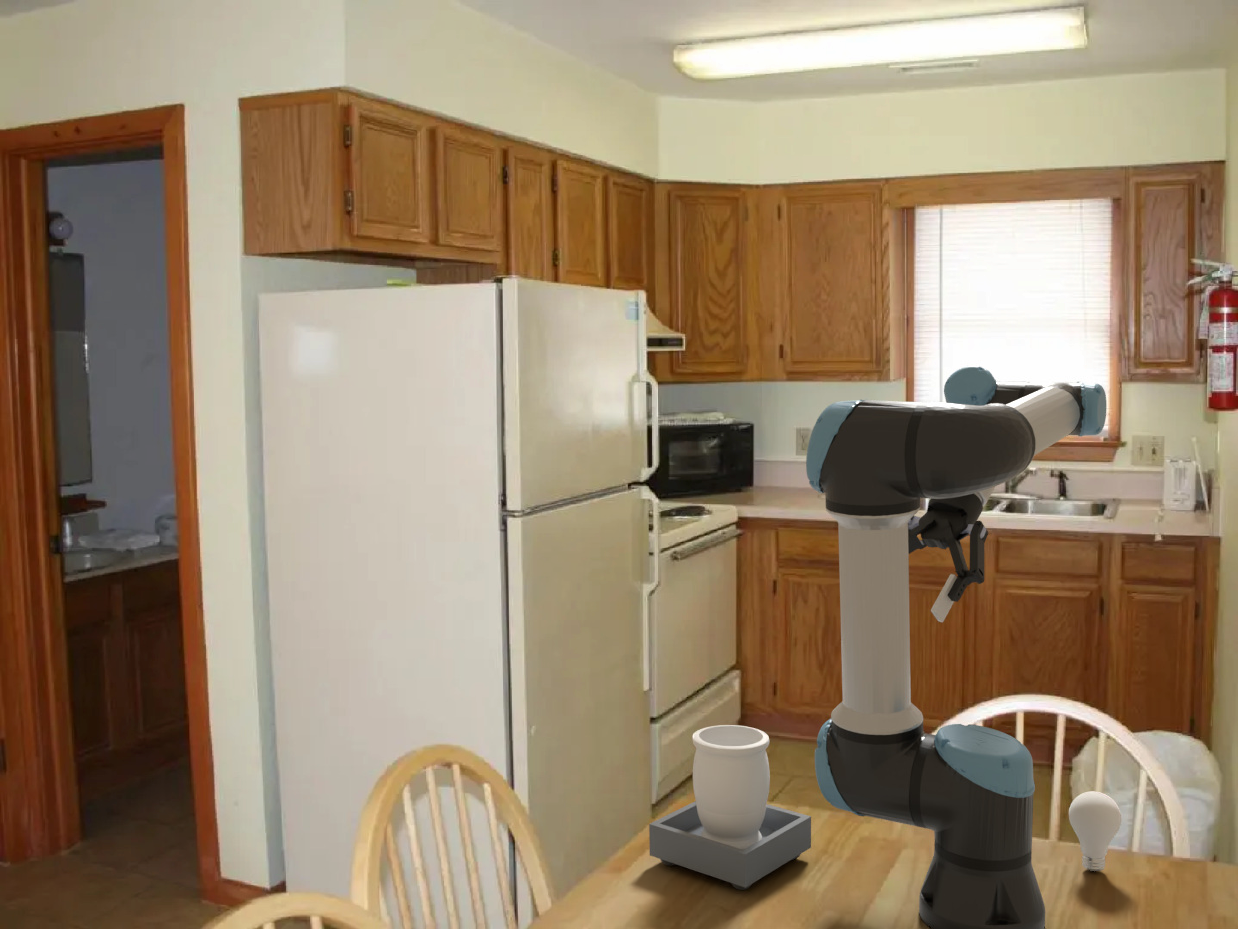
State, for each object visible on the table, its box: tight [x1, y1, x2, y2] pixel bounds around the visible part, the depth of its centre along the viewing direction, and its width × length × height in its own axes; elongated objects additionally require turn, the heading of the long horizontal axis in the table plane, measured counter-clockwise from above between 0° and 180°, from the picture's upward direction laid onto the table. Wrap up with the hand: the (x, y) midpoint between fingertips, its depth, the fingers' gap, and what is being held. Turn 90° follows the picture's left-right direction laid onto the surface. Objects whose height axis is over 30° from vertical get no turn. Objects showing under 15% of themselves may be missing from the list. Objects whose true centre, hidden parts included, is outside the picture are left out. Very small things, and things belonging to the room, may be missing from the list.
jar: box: [692, 724, 771, 850], centre depth 174 cm, size 11×10×15 cm
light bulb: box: [1068, 790, 1122, 873], centre depth 170 cm, size 7×7×11 cm
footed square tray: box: [648, 800, 812, 891], centre depth 174 cm, size 16×16×6 cm
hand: (897, 608), depth 183 cm, fingers open, 13 cm apart
